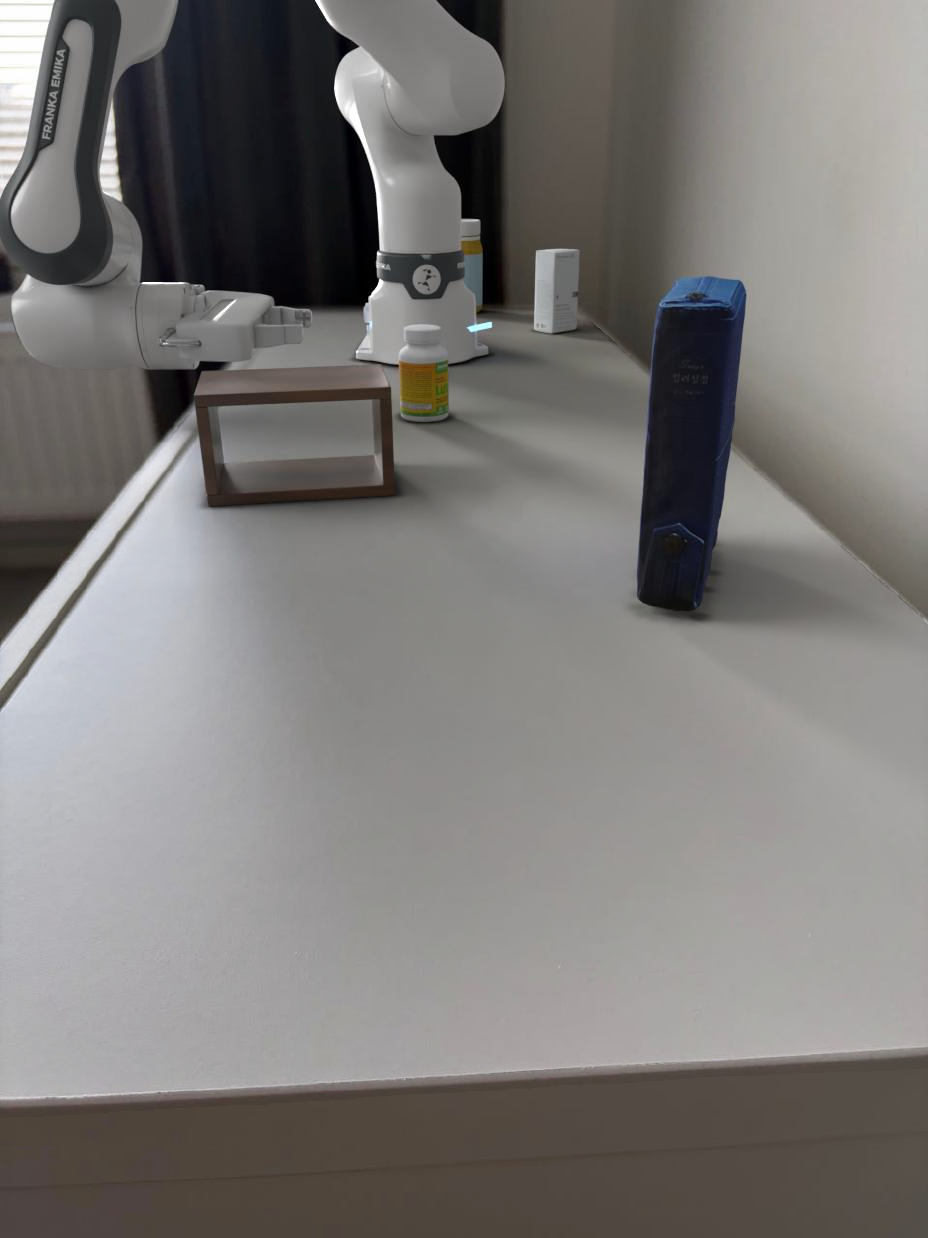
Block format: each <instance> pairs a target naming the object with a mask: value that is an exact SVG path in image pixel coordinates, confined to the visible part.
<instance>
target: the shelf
mask: <svg viewBox="0 0 928 1238" xmlns="http://www.w3.org/2000/svg"><path fill="white" fill-rule="evenodd" d="M368 400H369V401H370V400H371V406H372V407H371V409H372V426H373V427H372V428H373V429H372V431H373V432H372V433H373V450H374V451H373V452H374V453H373V454H372V455H371V454H368V455H352V456H334V457H333V456H330V457H314V458H313V457H311V458H295V459H278V460H277V459H275V460H274V459H273V460H255V461H240V462H239V461H237V462H225V460H224V453H223V451H224V450H223V444H222V443H223V442H222V435H221V426H220V418H219V417H220V416H219V410H218V407H233V406H236V407H237V406H259V405H278V404H279V405H282V404H302V403H303V404H304V403H306V404H307V403H325V402H347V401H348V402H349V401H350V402H351V401H368ZM193 402H194V407H195V417H196V424H197V425H196V426H197V432H198V439H199V448H200V455H201V463H202V471H203V479H204V486H205V494H206V501H207V502H206V503H207V506H208V507H219V506H220V507H221V506H235V505H236V506H237V505H238V506H239V505H252V504H255V505H256V504H270V503H272V504H273V503H285V502H286V503H287V502H289V503H290V502H304V501H305V502H306V501H320V500H337V499H338V500H339V499H355V498H372V497H386V496H387V497H388V496H390V497H391V496H395V495H396V485H395V484H396V483H395V482H396V481H395V480H396V479H395V456H394V454H395V453H394V427H393V425H394V424H393V400H392V386H391V383H390V382H389V380H388V377H387V375H386V373H385V370H384V368H383V365H382V364H381V363H380V364H379V363H376V364H354V365H353V364H351V365H350V364H349V365H329V366H328V365H327V366H304V367H278V368H277V367H274V368H273V367H272V368H252V369H250V368H249V369H228V370H227V369H225V370H223V369H222V370H202V371H201V373H200V376H199V378H198V381H197V384H196V388H195V391H194V394H193Z"/></svg>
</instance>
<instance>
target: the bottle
mask: <svg viewBox="0 0 928 1238" xmlns="http://www.w3.org/2000/svg"><path fill="white" fill-rule="evenodd" d="M461 249H462V250H463V251H464V258H465V277H464V278H463V281H464V283H465V285H466V286H467V287H468V288H469V289H470V290H471V291H472V293H474V294H475V299H476V314H477V313H480V312H481V310H482V308H483V276H484V275H483V271H484V270H483V269H484V268H483V267H484V266H483V263H484V261H483V259H484V257H483V255H484V253H483V245H482V243H481V220H480V219H475V218H461Z"/></svg>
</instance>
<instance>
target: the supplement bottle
mask: <svg viewBox="0 0 928 1238" xmlns="http://www.w3.org/2000/svg"><path fill="white" fill-rule="evenodd" d="M404 339H405V342H407V346H406V347H404V348H402V349H401V350H400V352H399V365H398V374H399V375H398V377H399V378H398V379H399V407H400V408H399V409H400V416H401V418H402V419H404V420H406V421H408V422H415V423H431V422H440V421H443V420H445V419H446V418H448V416H449V413H450V411H449V410H450V409H449V408H450V407H449V405H450V404H449V403H450V402H449V395H450V394H449V364H448V353H447V351H446V349H445V348H444V347H442V346H440V345H439V342H440V341H441V327H439V326H436V325H427V324H420V325H410V326H406V327H405V328H404Z"/></svg>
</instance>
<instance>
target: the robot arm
mask: <svg viewBox="0 0 928 1238" xmlns="http://www.w3.org/2000/svg"><path fill="white" fill-rule="evenodd" d="M315 2H316V4H317V6H318V7H319V10H320V11H321V13H322V14H323V16H324V18H325V19H326V21H327V22H328V23H329V25H330V26H331V27H332V28H333V29H334V30H335V31H336V32H337V33H339V34H340V35H342V36H344V37H345V38H347V39H349V40H351V42H353V43H355V44H356V45H357V46H358V47H357V48H355V49H352V50H351V51H349V52H348V53H347V54H345V55H344V56H343V57H342V59H341V61H340V62H339V64H338V66H337V69H336V72H335V77H334V95H335V99H336V103H337V106H338V109H339V111H340V113H341V115H342V116H343V117H344V119H345V120H346V121H347V123H348V124H350V125H351V127H352V128H353V129H354V131H355V133H356V134H357V136H358V138H359V139H360V142H361V144H362V147H363V149H364V151H365V152H364V153H365V154H366V158H367V160H368V163H369V167H370V171H371V173H372V178H373V183H374V188H375V193H376V194H375V196H376V207H377V222H378V223H377V224H378V241H379V249H378V250H377V252H376V261H375V267H376V277H377V279H378V284H377V286H376V287H375V289H374V290H373V291H372V292H371V295H369V296H368V302H366V303H365V305H364V306H363V322H364V323H365V324H366V327H365V333H366V335H365V337H364V338H363V340H362V342H361V343H360V344H359V346H358V348H357V349H356V351H355V359H357V360H362V361H372V362H373V361H374V362H380V363H383V364H389V365H398V366H399V352H400V350H401V349H402V348H404V347H406V346H407V342H405V339H404V328H405V327H406V326H410V325H420V324H427V325H436V326H439V327H441V341H440V342H439V345H440V346H442V347H444V348H445V349H446V351H447V353H448V365H450V364H451V365H452V364H457V363H462V362H466V361H468V360H471V359H473V358H477V357H482V356H486V355H489V347H488V345H486V344H484V343H481V342H479V341H478V331H482V330H486V329H491V328H493V322H492V321H488V322H484V323H479V324H478V323H477V313H476V299H475V294H474V293H472V291H471V290H470V289H469V288H468V287H467V286H466V285H465V283H464V281H463V278H464V277H465V258H464V251H463V250H462V249H461V219H462V192H461V188H460V185H459V184H458V182H457V180H456V179H455V177H454V176H452V175H451V174H450V173H449V171H447V170H446V169H445V167H444V165H443V163H442V161H441V158H440V156H439V154H438V150H437V146H436V144H435V143H436V142H435V136H459V135H461V134H465V133H469V132H472V131H474V130H477V129H480V128H482V127H486V126H487V125H488V124H490V123H491V122H492V121H493V120H494V119H495V118H496V116H497V114H498V113H499V111H500V109H501V106H502V103H503V100H504V94H505V87H506V86H505V84H506V81H505V80H506V79H505V72H504V71H505V70H504V66H503V63H502V61H501V59H500V56H499V54H498V52H497V51H496V49H495V48H494V47H493V45H492V44H491V43H490V42H488V41H487V40H486V39H484V38H482V37H480V36H478V35H476V34H474V33H473V32H471V31H470V30H468V29H467V28H465V27H464V26H463V25H462V24H461V23H459V22H458V21H457V20H456V19H455V18H454V17H453V16H452V15H451V14H450V13H449V12H448V11H446V9H445V8H444V6H442V5H441V4H440V3H439V2H438V0H315ZM178 6H179V0H53V3H52V8H51V12H50V13H51V14H50V18H49V21H48V25H47V27H46V33H45V37H44V43H43V47H42V53H41V57H40V63H39V69H38V74H37V80H36V87H35V90H34V98H33V102H32V109H31V115H30V121H29V126H28V130H27V136H26V142H25V145H24V148H23V153H22V155H21V157H20V159H19V161H18V164H17V166H16V167H15V169H14V171H13V172H12V174H11V176H10V178H9V180H8V181H7V183H6V184H5V187H4V188H3V190H2V193H1V195H0V241H1V244H2V246H3V248H4V250H5V251H6V253H7V255H8V256H9V258H10V259H11V261H13V263H14V264H15V265H16V267H18V269H20V270H21V271H22V272H23V273H25V274H26V275H25V277H24V279H23V280H22V283H21V285H19V287H18V289H17V290H16V291H15V292H14V293H13V294H12V296H11V301H10V315H11V321H12V325H13V328H14V331H15V334H16V336H17V338H18V340H19V342H20V344H22V346H23V348H24V349H25V352H27V353H28V354H29V355H30V356H31V357H32V358H33V359H35V360H36V361H37V362H39V363H41V364H43V365H46V366H49V367H53V368H54V367H55V368H58V369H59V368H60V369H65V370H66V369H67V370H81V371H111V370H112V371H113V370H116V369H119V368H124V367H136V368H141V369H145V370H149V371H152V370H157V371H159V370H196V369H197V368H198V367H199V365H200V362H223V363H224V362H225V363H238V362H246V361H249V360H252V358H254V356H255V354H256V353H257V352H258V350H259V349H268V348H273V347H278V346H283V345H300V344H302V342H303V340H304V339H305V334H304V333H305V332H304V328H307V329H308V328H310V327H311V326H312V325H313V323H314V320H313V311H312V310H311V309H309V308H293V307H288V306H283V305H275V300H274V297H273V296H271V295H267V294H262V293H255V292H244V291H233V290H230V291H229V290H206V288H205V286H204V285H203V284H191V283H189V282H141V278H142V270H143V269H142V266H143V253H144V252H143V251H144V250H143V249H144V248H143V247H144V242H143V234H142V230H141V227H140V225H139V222H138V220H137V217H135V215H134V214H133V212H132V211H131V210H130V208H128V206H126V205H125V204H124V203H123V202H122V201H120V200H119V199H118V198H115V197H114V196H112V195H110V194H109V193H107V192H105V191H104V190H103V188H102V183H101V172H100V170H101V164H102V159H103V152H104V147H105V141H106V135H107V130H108V126H109V125H108V124H109V119H110V115H111V107H112V102H113V96H114V93H115V89H116V86H117V84H118V82H119V80H120V78H121V76H122V75H123V74H124V72H126V70H127V69H129V68H130V67H131V66H133V65H136V64H139V63H143V62H145V61H148V60H150V59H151V58H153V57H155V56H157V54H159V53H160V52H161V51H162V50H163V49H164V48H165V47H166V45H167V42H168V40H169V37H170V34H171V31H172V28H173V24H174V22H175V18H176V14H177V10H178Z"/></svg>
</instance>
